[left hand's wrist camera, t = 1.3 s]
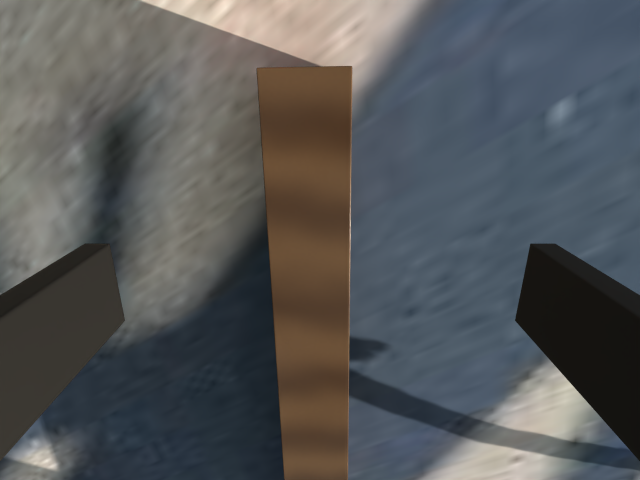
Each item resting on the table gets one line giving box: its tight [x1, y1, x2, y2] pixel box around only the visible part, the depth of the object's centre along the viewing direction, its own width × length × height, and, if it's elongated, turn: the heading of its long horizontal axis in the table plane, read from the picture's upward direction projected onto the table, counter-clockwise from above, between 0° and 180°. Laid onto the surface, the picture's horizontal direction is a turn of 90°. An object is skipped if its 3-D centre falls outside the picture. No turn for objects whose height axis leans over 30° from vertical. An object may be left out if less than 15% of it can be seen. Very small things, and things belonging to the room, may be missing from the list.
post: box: [257, 66, 352, 480], centre depth 36 cm, size 56×6×8 cm, turn 1°
